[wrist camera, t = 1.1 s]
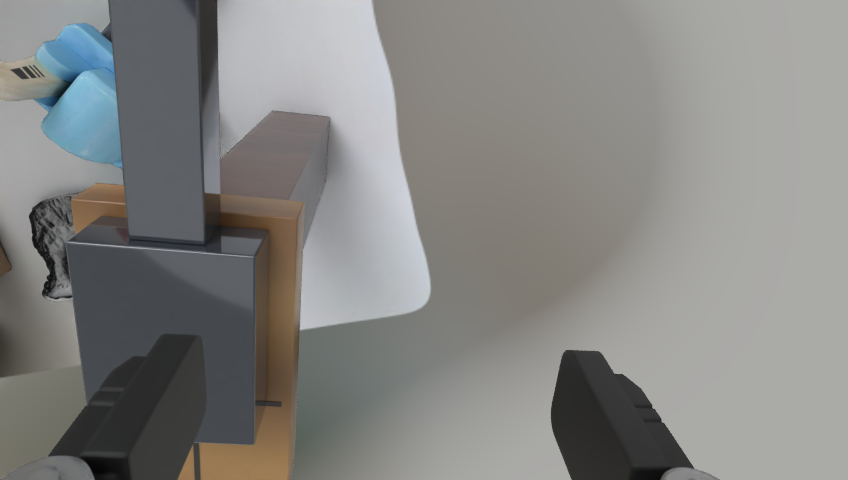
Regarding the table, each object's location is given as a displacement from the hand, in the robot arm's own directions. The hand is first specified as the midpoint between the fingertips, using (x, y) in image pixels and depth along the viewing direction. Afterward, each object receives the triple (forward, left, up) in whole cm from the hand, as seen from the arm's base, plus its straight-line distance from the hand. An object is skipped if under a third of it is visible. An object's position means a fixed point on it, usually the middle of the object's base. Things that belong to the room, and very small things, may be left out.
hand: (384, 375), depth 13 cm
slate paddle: (-4, -6, -9) cm, 12 cm away
